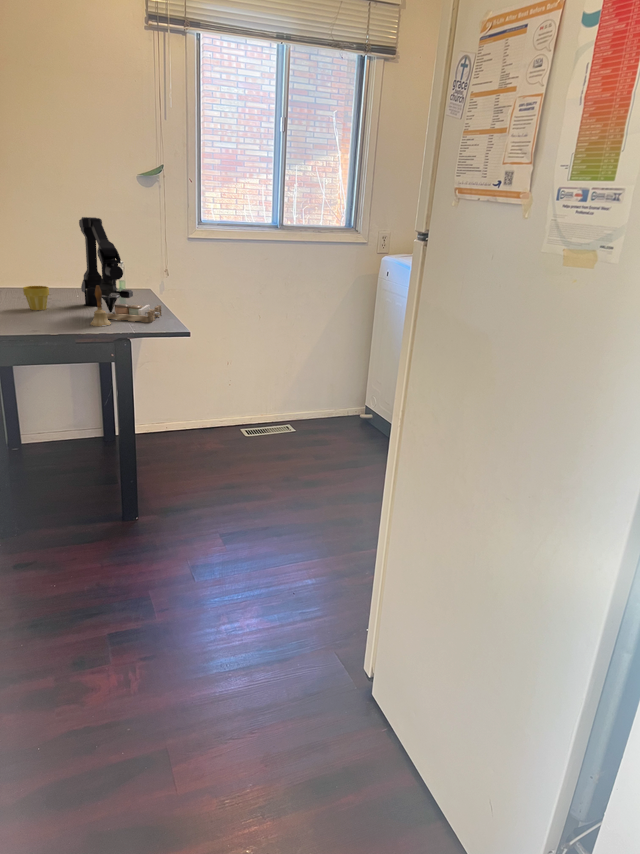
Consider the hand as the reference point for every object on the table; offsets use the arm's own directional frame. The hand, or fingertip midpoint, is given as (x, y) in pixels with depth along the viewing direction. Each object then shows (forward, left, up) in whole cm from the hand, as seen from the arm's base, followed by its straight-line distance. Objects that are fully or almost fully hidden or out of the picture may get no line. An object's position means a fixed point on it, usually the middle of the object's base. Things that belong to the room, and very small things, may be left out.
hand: (110, 312), depth 272 cm
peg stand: (+18, 0, -1) cm, 18 cm away
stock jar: (+11, 0, -2) cm, 11 cm away
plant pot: (-34, +3, -2) cm, 34 cm away
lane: (+10, 0, -2) cm, 10 cm away
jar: (+5, 0, -2) cm, 5 cm away
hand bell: (+2, -18, -2) cm, 18 cm away
